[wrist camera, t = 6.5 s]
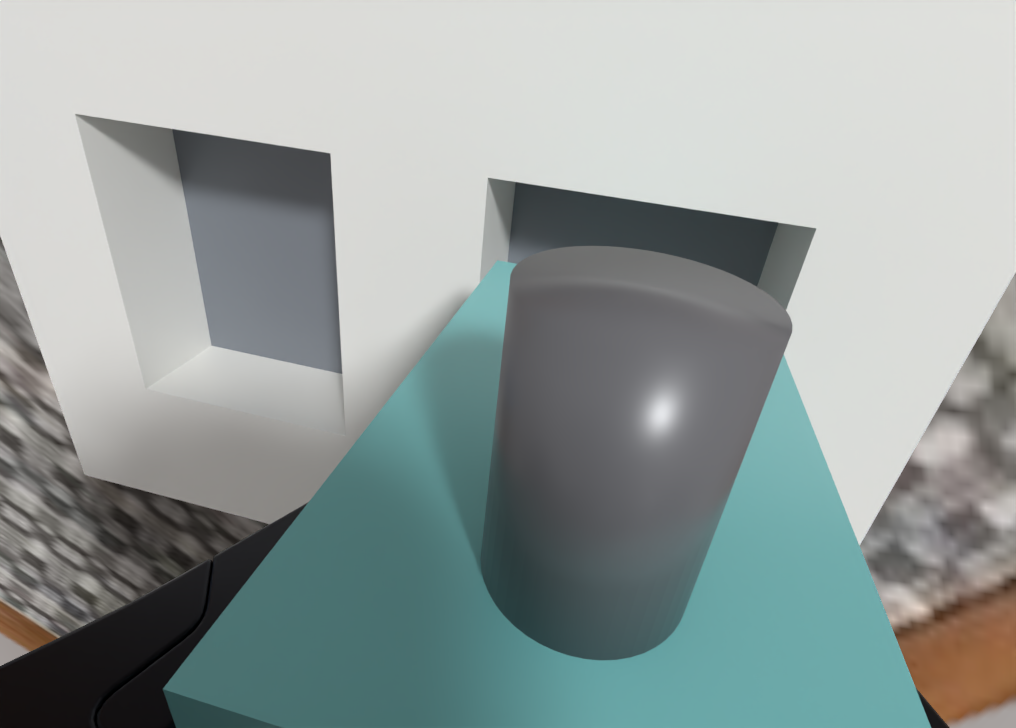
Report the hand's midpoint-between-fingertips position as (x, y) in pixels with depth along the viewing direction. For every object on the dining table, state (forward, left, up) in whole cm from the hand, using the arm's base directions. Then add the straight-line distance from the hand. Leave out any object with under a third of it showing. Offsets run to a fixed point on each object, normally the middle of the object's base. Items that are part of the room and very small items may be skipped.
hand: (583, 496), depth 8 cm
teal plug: (0, 0, -2) cm, 2 cm away
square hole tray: (0, +4, -7) cm, 8 cm away
